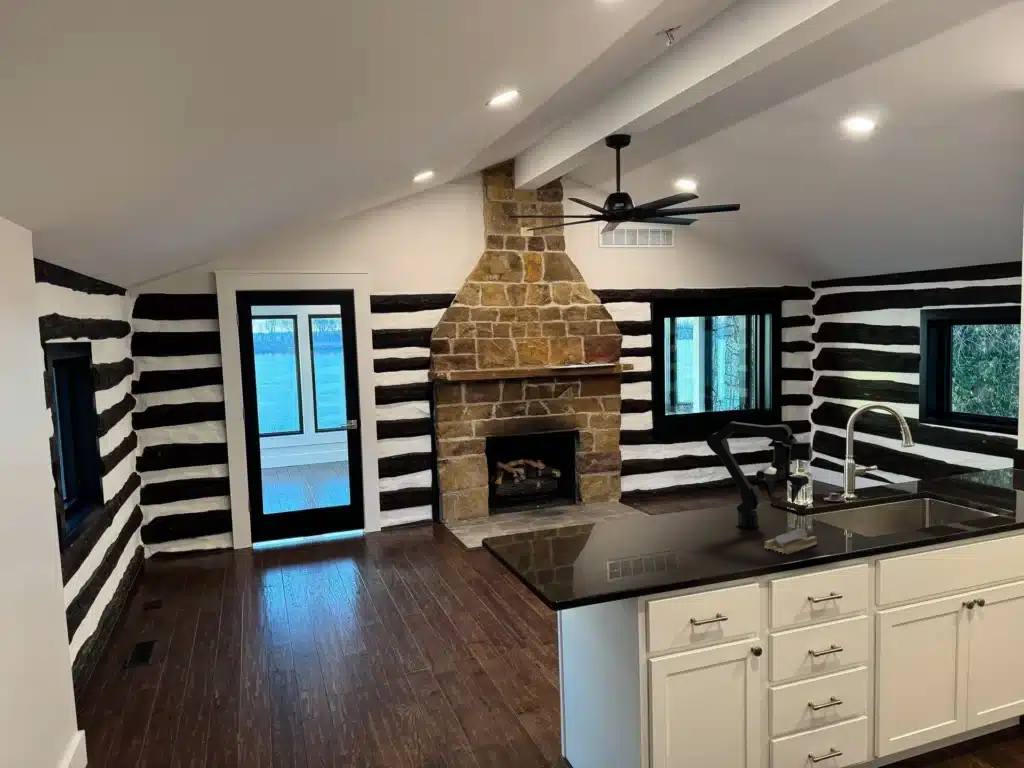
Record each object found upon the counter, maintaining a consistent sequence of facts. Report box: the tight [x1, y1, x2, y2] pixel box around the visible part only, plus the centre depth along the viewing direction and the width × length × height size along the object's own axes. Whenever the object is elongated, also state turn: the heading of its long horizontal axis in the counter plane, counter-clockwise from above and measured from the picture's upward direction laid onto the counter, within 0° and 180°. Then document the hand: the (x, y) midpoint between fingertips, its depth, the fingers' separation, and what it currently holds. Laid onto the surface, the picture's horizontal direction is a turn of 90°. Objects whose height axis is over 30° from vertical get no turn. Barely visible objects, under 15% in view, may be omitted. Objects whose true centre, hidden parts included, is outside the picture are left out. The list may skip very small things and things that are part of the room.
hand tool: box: [769, 494, 806, 514], centre depth 307 cm, size 19×4×5 cm, turn 18°
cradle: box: [764, 535, 818, 555], centre depth 256 cm, size 9×18×2 cm, turn 127°
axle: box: [773, 528, 808, 548], centre depth 256 cm, size 14×4×4 cm, turn 127°
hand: (781, 499), depth 273 cm, fingers open, 9 cm apart
